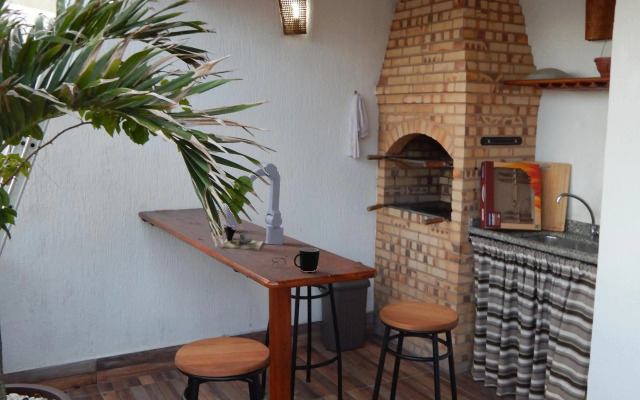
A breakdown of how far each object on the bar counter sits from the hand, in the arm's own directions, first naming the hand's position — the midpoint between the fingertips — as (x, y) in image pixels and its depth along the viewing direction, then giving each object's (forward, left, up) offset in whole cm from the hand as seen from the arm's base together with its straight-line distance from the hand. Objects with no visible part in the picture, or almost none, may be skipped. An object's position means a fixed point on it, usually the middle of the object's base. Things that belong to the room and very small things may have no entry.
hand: (229, 241), depth 360 cm
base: (-6, -2, -2) cm, 7 cm away
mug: (-42, +51, -2) cm, 67 cm away
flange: (-5, 0, 0) cm, 6 cm away
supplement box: (+9, -43, -2) cm, 44 cm away
